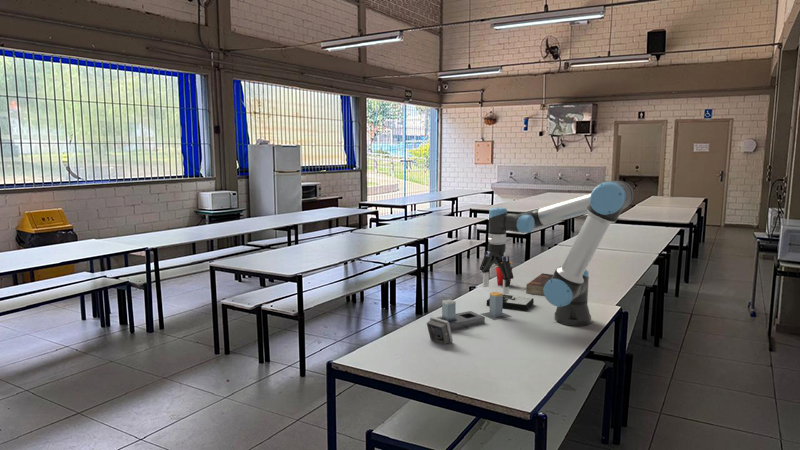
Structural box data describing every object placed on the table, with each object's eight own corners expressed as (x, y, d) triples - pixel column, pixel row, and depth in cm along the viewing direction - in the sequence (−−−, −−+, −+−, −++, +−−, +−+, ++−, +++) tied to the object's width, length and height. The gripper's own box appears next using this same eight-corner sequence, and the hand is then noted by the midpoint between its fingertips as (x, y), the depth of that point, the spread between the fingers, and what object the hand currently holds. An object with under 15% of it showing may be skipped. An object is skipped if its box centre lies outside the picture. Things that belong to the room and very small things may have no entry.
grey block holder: (484, 323, 227) (484, 298, 226) (445, 331, 218) (445, 305, 216) (470, 317, 236) (470, 293, 234) (432, 325, 226) (432, 299, 225)
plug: (502, 315, 237) (502, 293, 236) (495, 317, 235) (495, 294, 234) (496, 313, 240) (496, 291, 239) (489, 314, 239) (489, 292, 237)
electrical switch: (453, 342, 206) (451, 320, 204) (444, 347, 202) (442, 324, 200) (435, 337, 212) (433, 314, 210) (426, 341, 209) (424, 319, 207)
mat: (512, 317, 236) (512, 316, 236) (494, 320, 231) (494, 319, 231) (497, 311, 245) (497, 310, 245) (479, 314, 240) (479, 313, 240)
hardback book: (563, 298, 266) (563, 289, 265) (526, 294, 275) (526, 284, 274) (576, 286, 290) (576, 277, 290) (541, 282, 300) (542, 273, 299)
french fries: (512, 284, 292) (513, 257, 290) (504, 287, 286) (504, 260, 284) (498, 282, 298) (499, 255, 296) (490, 285, 292) (490, 258, 290)
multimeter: (494, 300, 264) (495, 290, 263) (533, 305, 255) (534, 295, 254) (486, 307, 252) (486, 297, 252) (526, 313, 243) (526, 302, 243)
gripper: (472, 239, 242) (471, 284, 245) (509, 248, 221) (507, 298, 224) (485, 237, 246) (484, 282, 249) (523, 246, 224) (521, 295, 228)
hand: (495, 290), depth 236 cm, fingers open, 13 cm apart
